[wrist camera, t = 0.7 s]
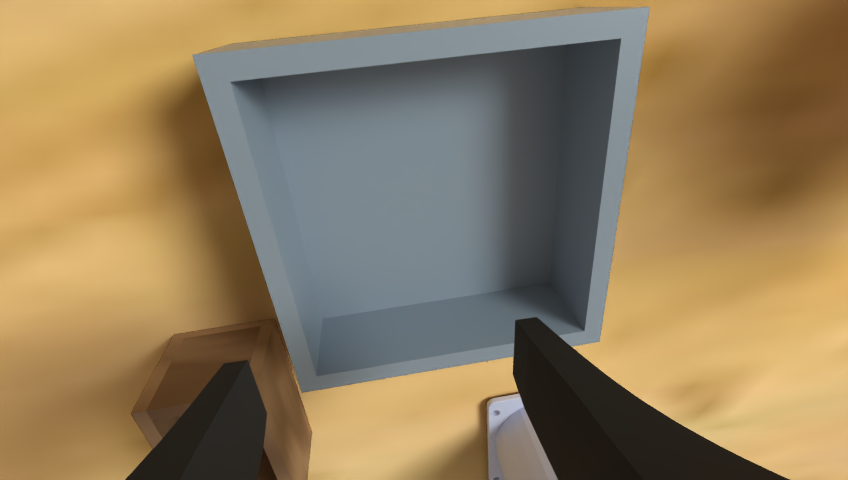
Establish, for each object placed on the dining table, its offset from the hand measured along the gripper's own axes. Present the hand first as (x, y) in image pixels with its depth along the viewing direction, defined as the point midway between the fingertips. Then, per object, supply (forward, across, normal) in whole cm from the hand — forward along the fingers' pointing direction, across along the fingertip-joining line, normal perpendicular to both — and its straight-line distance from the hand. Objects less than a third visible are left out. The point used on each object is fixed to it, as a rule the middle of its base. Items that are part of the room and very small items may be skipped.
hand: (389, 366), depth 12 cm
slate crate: (+10, -3, -1) cm, 10 cm away
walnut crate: (+10, +8, +10) cm, 16 cm away
